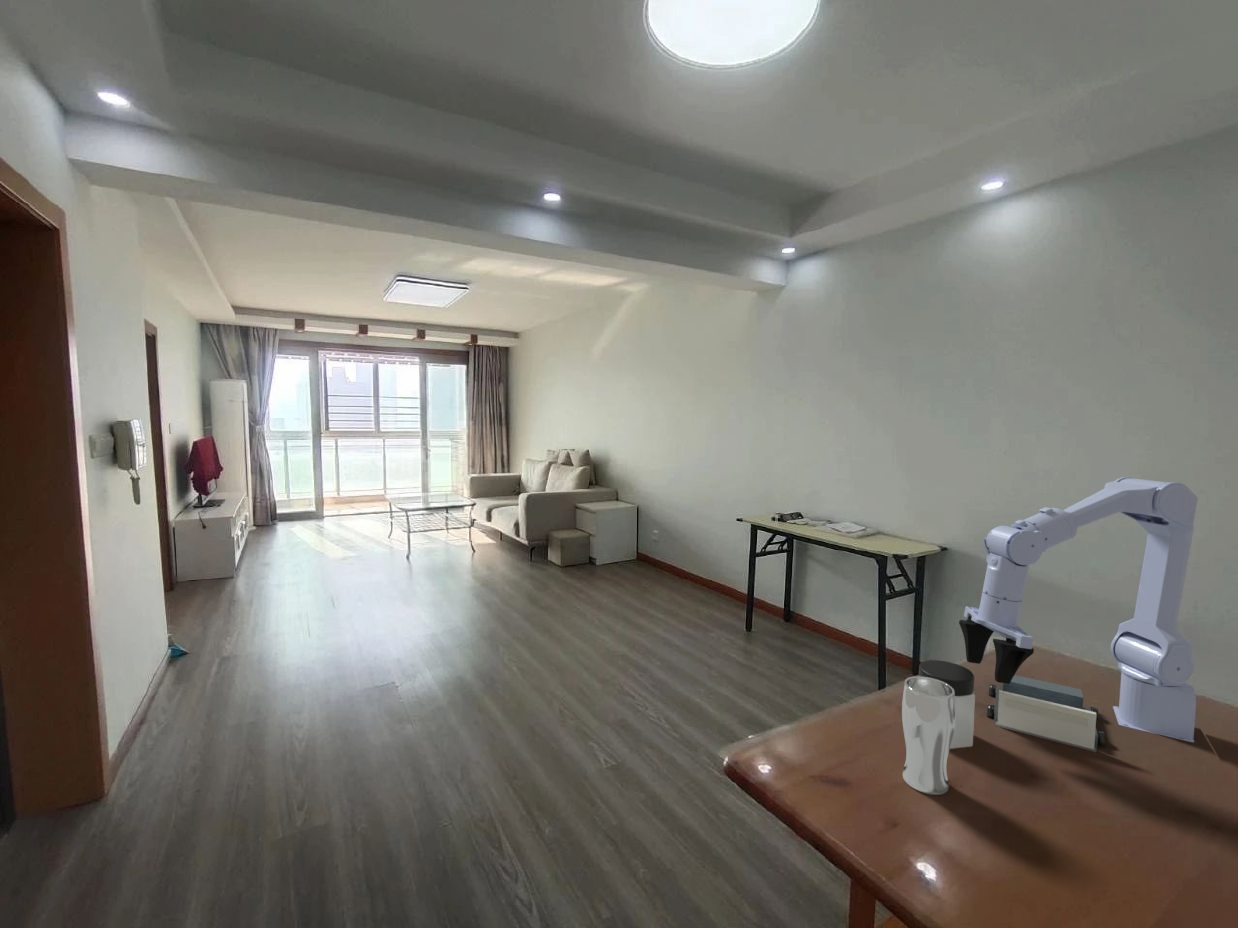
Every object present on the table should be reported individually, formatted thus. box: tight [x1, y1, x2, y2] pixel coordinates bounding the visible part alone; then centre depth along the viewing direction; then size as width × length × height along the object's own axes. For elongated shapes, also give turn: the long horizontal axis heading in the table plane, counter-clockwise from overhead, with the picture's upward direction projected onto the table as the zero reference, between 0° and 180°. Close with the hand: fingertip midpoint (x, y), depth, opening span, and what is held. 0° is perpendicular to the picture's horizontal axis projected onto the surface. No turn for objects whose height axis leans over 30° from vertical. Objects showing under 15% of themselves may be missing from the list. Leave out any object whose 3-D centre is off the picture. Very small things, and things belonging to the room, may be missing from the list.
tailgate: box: [994, 689, 1097, 753], centre depth 94 cm, size 14×1×7 cm, turn 55°
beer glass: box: [901, 675, 955, 796], centre depth 83 cm, size 7×7×15 cm
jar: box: [918, 659, 976, 750], centre depth 95 cm, size 9×8×12 cm
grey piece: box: [986, 674, 1106, 750], centre depth 101 cm, size 16×16×4 cm
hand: (987, 671), depth 97 cm, fingers open, 7 cm apart
